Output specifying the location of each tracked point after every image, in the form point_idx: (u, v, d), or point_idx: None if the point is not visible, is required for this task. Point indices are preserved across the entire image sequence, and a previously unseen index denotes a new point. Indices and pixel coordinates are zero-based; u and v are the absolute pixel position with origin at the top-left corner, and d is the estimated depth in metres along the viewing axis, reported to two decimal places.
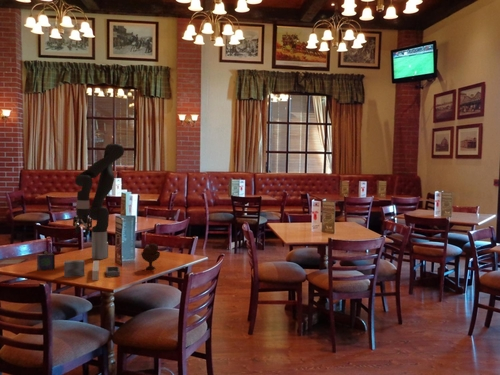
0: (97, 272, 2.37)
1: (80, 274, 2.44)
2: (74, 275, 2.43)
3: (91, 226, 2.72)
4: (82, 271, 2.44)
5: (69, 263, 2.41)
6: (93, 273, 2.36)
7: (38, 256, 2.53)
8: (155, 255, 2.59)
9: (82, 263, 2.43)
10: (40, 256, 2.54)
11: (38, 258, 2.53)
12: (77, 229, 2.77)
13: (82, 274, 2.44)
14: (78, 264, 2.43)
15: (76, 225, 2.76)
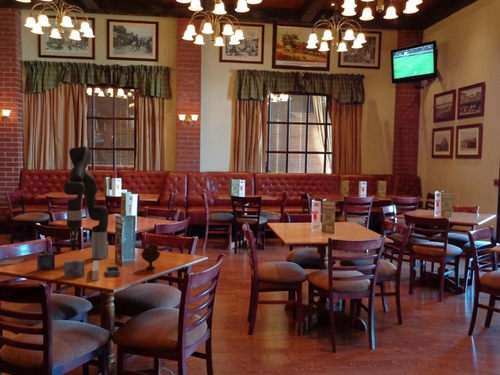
0: (97, 272, 2.37)
1: (80, 274, 2.44)
2: (74, 275, 2.43)
3: None
4: (82, 271, 2.44)
5: (69, 263, 2.41)
6: (93, 273, 2.36)
7: (38, 256, 2.53)
8: (155, 255, 2.59)
9: (82, 263, 2.43)
10: (40, 256, 2.54)
11: (38, 258, 2.53)
12: None
13: (82, 274, 2.44)
14: (78, 264, 2.43)
15: None
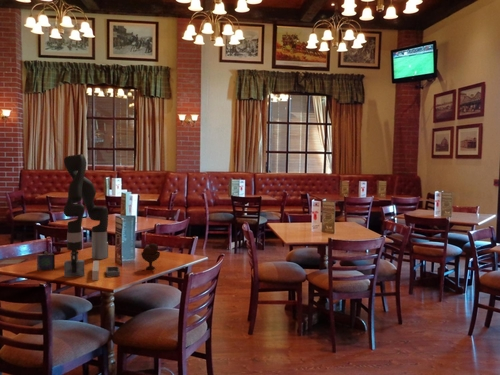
0: (97, 272, 2.37)
1: (80, 274, 2.44)
2: (74, 275, 2.43)
3: None
4: (82, 271, 2.44)
5: (69, 263, 2.41)
6: (93, 273, 2.36)
7: (38, 256, 2.53)
8: (155, 255, 2.59)
9: (82, 263, 2.43)
10: (40, 256, 2.54)
11: (38, 258, 2.53)
12: None
13: (82, 274, 2.44)
14: (78, 264, 2.43)
15: (76, 262, 2.42)
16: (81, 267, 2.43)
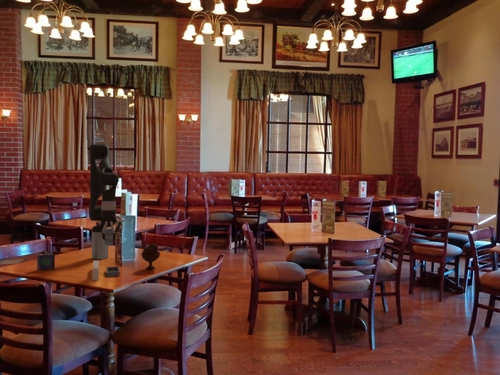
0: (97, 272, 2.37)
1: (105, 243, 2.45)
2: None
3: None
4: (105, 240, 2.44)
5: None
6: (93, 273, 2.36)
7: (38, 256, 2.53)
8: (155, 255, 2.59)
9: (105, 232, 2.44)
10: (40, 256, 2.54)
11: (38, 258, 2.53)
12: None
13: (105, 243, 2.44)
14: None
15: (104, 230, 2.46)
16: (105, 236, 2.44)
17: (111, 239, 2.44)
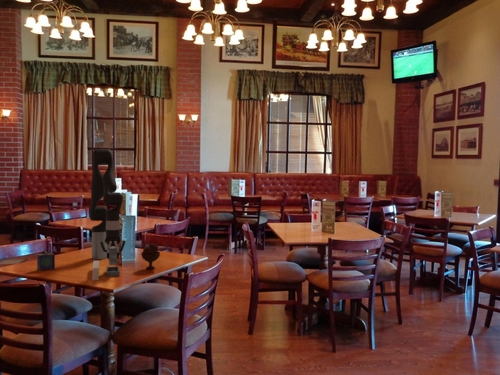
0: (97, 272, 2.37)
1: (109, 262, 2.47)
2: None
3: None
4: (109, 260, 2.46)
5: (109, 249, 2.52)
6: (93, 273, 2.36)
7: (38, 256, 2.53)
8: (155, 255, 2.59)
9: (109, 252, 2.45)
10: (40, 256, 2.54)
11: (38, 258, 2.53)
12: None
13: (109, 263, 2.46)
14: None
15: (108, 250, 2.48)
16: (109, 255, 2.46)
17: (115, 258, 2.46)
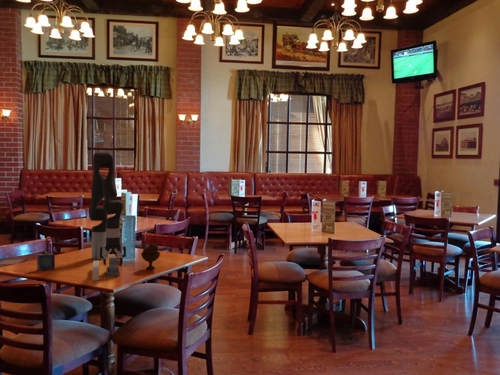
0: (97, 272, 2.37)
1: None
2: None
3: None
4: (109, 269, 2.46)
5: (109, 258, 2.52)
6: (93, 273, 2.36)
7: (38, 256, 2.53)
8: (155, 255, 2.59)
9: (109, 261, 2.46)
10: (40, 256, 2.54)
11: (38, 258, 2.53)
12: (105, 261, 2.49)
13: None
14: None
15: (105, 256, 2.48)
16: (109, 265, 2.46)
17: (115, 268, 2.46)
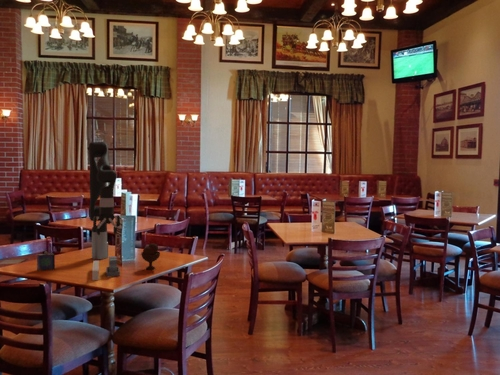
0: (97, 272, 2.37)
1: None
2: None
3: None
4: (109, 269, 2.46)
5: (109, 258, 2.52)
6: (93, 273, 2.36)
7: (38, 256, 2.53)
8: (155, 255, 2.59)
9: (109, 261, 2.46)
10: (40, 256, 2.54)
11: (38, 258, 2.53)
12: None
13: None
14: None
15: (99, 226, 2.49)
16: (109, 265, 2.46)
17: (115, 268, 2.46)
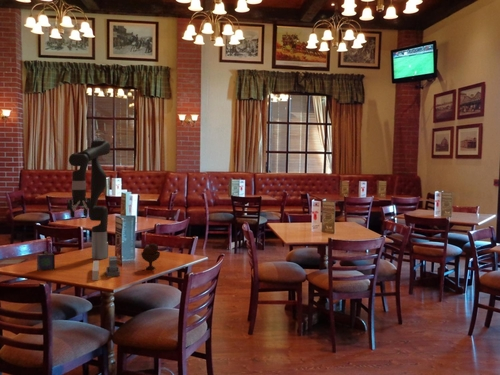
0: (97, 272, 2.37)
1: None
2: None
3: None
4: (109, 269, 2.46)
5: (109, 258, 2.52)
6: (93, 273, 2.36)
7: (38, 256, 2.53)
8: (155, 255, 2.59)
9: (109, 261, 2.46)
10: (40, 256, 2.54)
11: (38, 258, 2.53)
12: None
13: None
14: None
15: (74, 208, 2.55)
16: (109, 265, 2.46)
17: (115, 268, 2.46)
